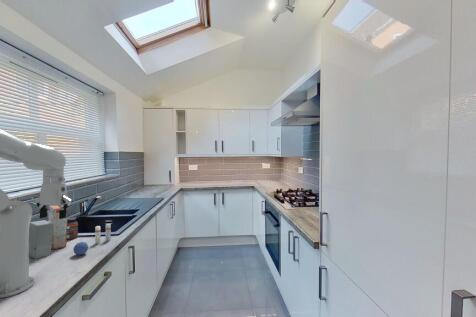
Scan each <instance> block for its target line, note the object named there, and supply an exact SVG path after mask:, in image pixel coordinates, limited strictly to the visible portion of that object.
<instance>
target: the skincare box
mask: <svg viewBox="0 0 476 317" xmlns="http://www.w3.org/2000/svg"><path fill="white" fill-rule="evenodd" d="M52 228H53V223H51V222H49V220H45V219H44V220H37V221H30V227H29V258H30V257H31V258H33V259H35V260H36V259H40V258H43V257H48V256H50V255H51V254H52V247H51V242H52Z"/></svg>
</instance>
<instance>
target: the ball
mask: <svg viewBox="0 0 476 317" xmlns="http://www.w3.org/2000/svg"><path fill="white" fill-rule="evenodd" d="M88 249H89V245H88V243H87V242H85V241H80V242H77V243H76V244H74V247H73V253H74V254H75V256H83V255H84V254H86V253H87V251H89V250H88Z"/></svg>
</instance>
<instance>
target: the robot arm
mask: <svg viewBox="0 0 476 317" xmlns="http://www.w3.org/2000/svg"><path fill="white" fill-rule="evenodd" d="M0 159H3V160H5V161H8V162H13V163H14V162H15V163H22V164H23V166H24V167H25V168H26V169H28V170H33V171H42V183H41V186H40V192H39V196H38V197H37V198H35V199H34V201H35V203H36V206H37V208H38V210H39V219H43V218H47V217H48V207H49V206H59V208H60V209H61V210H59V219H63V218H66V209H67V210H68V209H69V207H70V206H71V204H72V198H69V197H68V189H67V185H66V184H67V183H66V182H65V181H66V179H65V177H64V176H65V175H64V174H65V168H64V167H65V166H66V163H67V159H66V157H65V155H64V154H63V153H62V152H60V150H57V149H55V148H54V147H50V146H47V145H43V144H39V143H35V142H31V141H28V140H23V139H22V138H20V137H17V136H16V135H13V134H11V133H9V132H7V131H5V130H3V129H1V128H0ZM62 205H63V206H62ZM32 218H33V208H32V206H31V204H30V203H28V202H26V201H22V200H10V198H9V195H8V194H7V193H6V192H5V191H4V190H3V189H1V188H0V299H4V298H7V297H12V296H15V295H17V294H18V295H19V294H20V293H22V292H25V291H26V290H29V289H30V288H31V287H32V286H33V285H34V284H35V278H34V277H32V276H30V256H29V227H30V222H32Z"/></svg>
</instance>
